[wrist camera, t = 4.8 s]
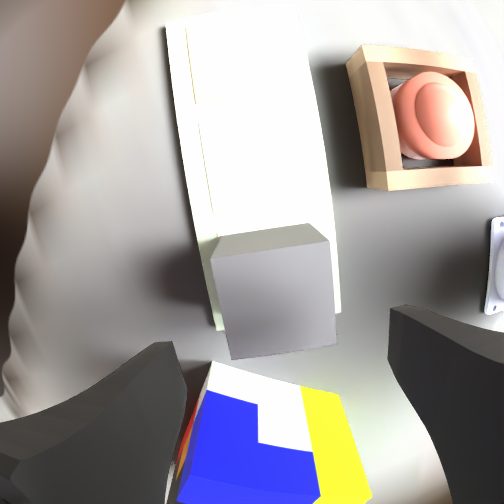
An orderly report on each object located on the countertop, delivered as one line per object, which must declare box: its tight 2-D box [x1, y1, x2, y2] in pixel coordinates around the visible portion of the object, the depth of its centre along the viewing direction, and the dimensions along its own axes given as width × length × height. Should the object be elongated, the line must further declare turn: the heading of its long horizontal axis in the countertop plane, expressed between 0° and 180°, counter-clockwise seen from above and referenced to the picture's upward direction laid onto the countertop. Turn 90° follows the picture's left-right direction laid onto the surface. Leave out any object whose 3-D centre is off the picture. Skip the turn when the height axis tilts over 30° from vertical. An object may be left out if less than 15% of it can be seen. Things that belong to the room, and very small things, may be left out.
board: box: [166, 3, 341, 331], centre depth 17 cm, size 8×20×1 cm, turn 9°
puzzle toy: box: [167, 361, 372, 504], centre depth 17 cm, size 10×10×10 cm
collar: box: [346, 45, 493, 191], centre depth 15 cm, size 8×8×3 cm
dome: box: [390, 72, 474, 160], centre depth 14 cm, size 5×5×4 cm
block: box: [210, 223, 337, 360], centre depth 16 cm, size 5×5×5 cm
